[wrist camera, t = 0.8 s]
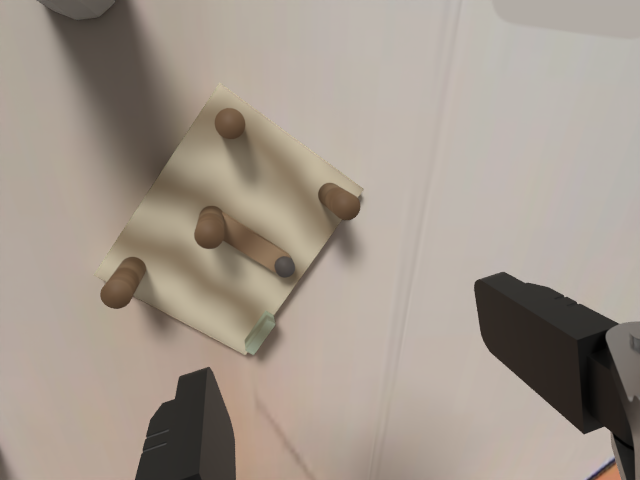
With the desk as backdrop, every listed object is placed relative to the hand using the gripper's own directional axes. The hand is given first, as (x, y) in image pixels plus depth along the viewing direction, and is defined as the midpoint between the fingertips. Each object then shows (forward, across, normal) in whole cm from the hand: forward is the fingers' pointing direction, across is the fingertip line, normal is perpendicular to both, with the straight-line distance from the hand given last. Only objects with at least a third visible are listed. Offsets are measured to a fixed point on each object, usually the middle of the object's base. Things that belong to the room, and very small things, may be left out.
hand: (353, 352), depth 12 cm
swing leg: (+34, +3, +5) cm, 34 cm away
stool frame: (+36, +4, +4) cm, 36 cm away
